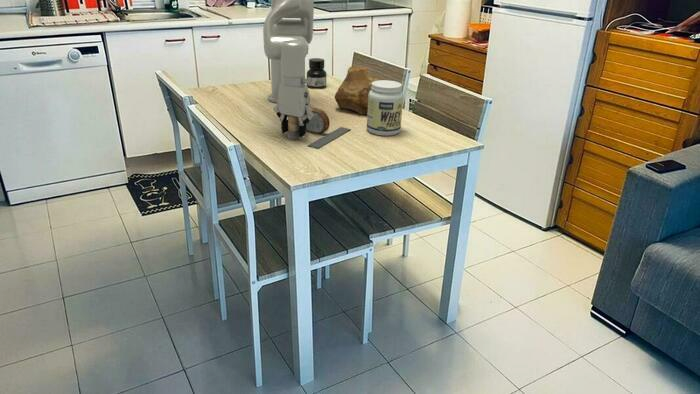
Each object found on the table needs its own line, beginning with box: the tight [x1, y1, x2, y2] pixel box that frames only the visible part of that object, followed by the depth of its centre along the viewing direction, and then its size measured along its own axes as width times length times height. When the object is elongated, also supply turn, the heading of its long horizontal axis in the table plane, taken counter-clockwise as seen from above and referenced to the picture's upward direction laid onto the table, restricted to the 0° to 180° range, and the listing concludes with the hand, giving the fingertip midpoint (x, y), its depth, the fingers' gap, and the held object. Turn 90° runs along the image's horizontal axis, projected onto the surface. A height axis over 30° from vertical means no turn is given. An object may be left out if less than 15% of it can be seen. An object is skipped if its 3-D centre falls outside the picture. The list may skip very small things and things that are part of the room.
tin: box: [299, 106, 331, 135], centre depth 184 cm, size 15×3×8 cm, turn 56°
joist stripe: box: [307, 126, 352, 150], centre depth 180 cm, size 22×4×1 cm, turn 152°
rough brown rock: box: [334, 66, 381, 116], centre depth 208 cm, size 23×17×15 cm
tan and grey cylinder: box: [287, 115, 300, 141], centre depth 177 cm, size 4×4×8 cm
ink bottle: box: [306, 57, 328, 89], centre depth 237 cm, size 10×9×12 cm
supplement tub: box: [366, 79, 404, 137], centre depth 185 cm, size 12×12×17 cm
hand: (293, 133), depth 178 cm, fingers open, 6 cm apart
